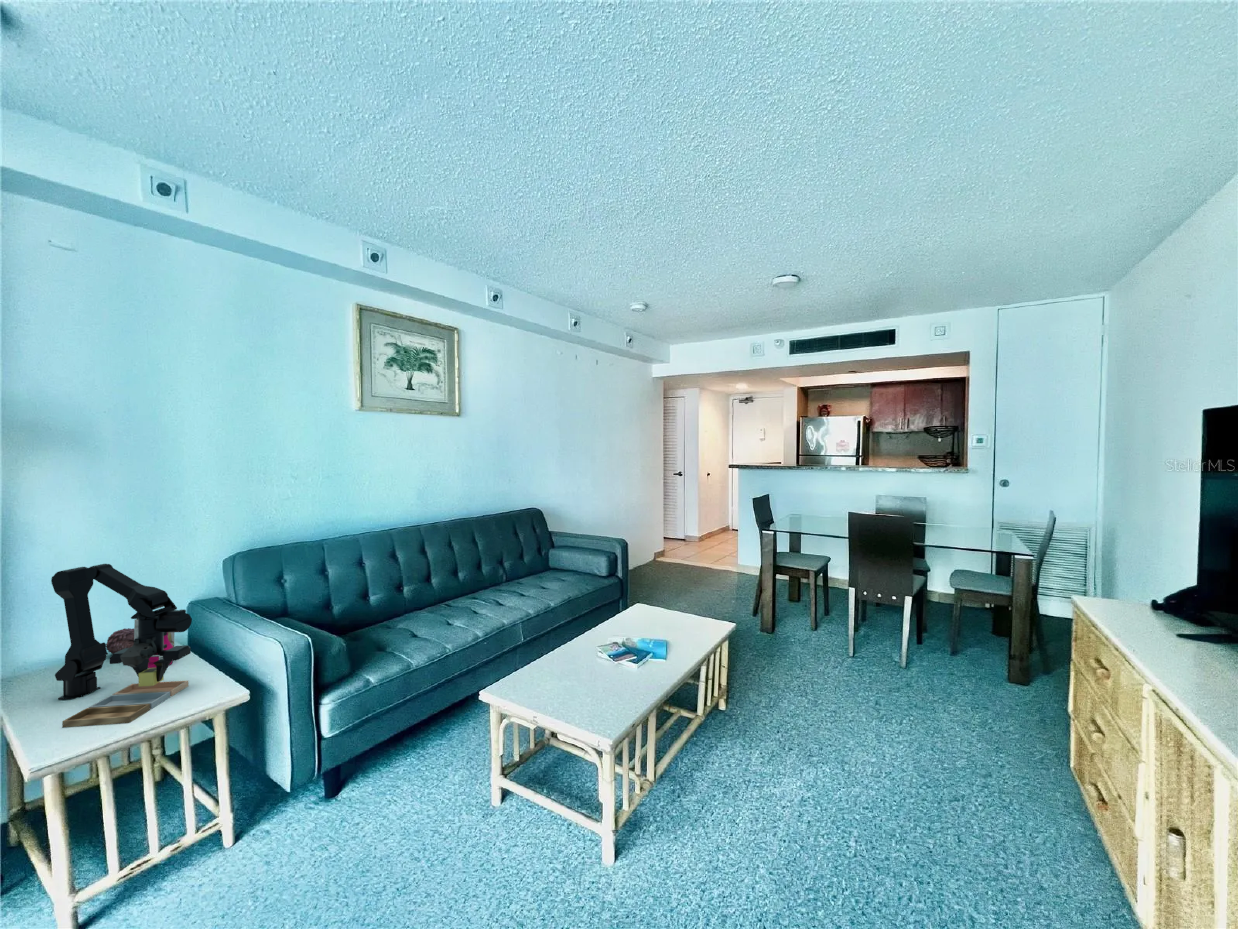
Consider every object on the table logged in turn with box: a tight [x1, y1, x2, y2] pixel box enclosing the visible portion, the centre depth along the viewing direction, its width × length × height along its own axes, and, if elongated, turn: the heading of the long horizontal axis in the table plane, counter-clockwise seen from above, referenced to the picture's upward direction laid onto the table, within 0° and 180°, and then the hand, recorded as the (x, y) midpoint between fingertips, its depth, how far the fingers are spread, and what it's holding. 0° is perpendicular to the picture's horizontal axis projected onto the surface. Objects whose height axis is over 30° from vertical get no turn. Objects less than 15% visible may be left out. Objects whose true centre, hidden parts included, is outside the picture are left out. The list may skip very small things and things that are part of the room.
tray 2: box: [88, 692, 171, 710], centre depth 142 cm, size 16×7×2 cm, turn 99°
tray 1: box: [61, 704, 151, 728], centre depth 134 cm, size 16×7×2 cm, turn 99°
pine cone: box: [105, 628, 134, 654], centre depth 178 cm, size 18×10×10 cm, turn 54°
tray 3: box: [111, 680, 190, 698], centre depth 149 cm, size 16×7×2 cm, turn 99°
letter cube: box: [138, 668, 165, 686], centre depth 149 cm, size 4×4×4 cm
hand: (151, 681), depth 149 cm, fingers closed on letter cube, 4 cm apart
